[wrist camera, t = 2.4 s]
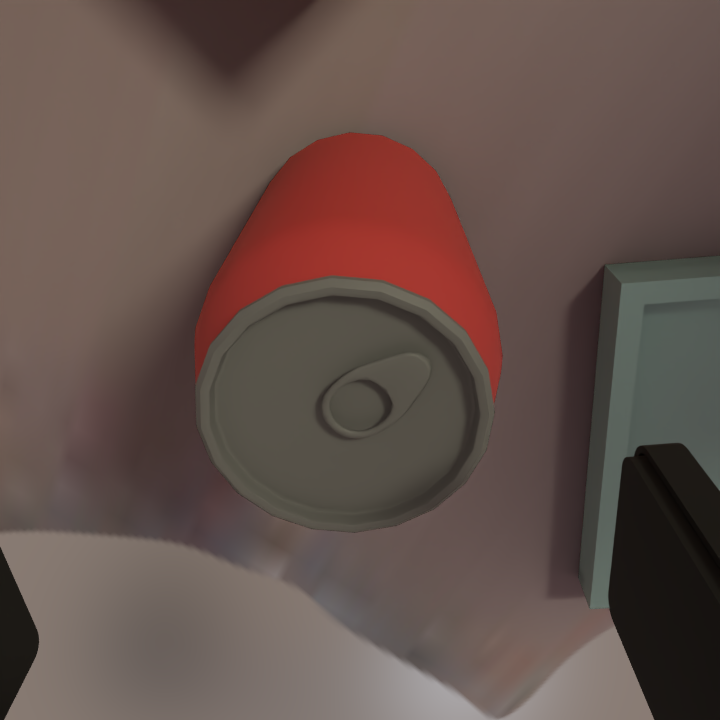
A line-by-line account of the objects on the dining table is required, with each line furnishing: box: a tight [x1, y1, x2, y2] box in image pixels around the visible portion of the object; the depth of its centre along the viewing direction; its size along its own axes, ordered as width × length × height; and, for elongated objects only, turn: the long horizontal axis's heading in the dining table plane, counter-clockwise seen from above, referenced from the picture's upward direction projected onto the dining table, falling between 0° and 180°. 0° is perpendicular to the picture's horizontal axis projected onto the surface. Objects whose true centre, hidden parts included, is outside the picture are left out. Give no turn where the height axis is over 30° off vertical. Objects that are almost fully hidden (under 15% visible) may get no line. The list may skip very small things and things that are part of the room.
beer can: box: [195, 133, 502, 533], centre depth 18 cm, size 7×7×12 cm
